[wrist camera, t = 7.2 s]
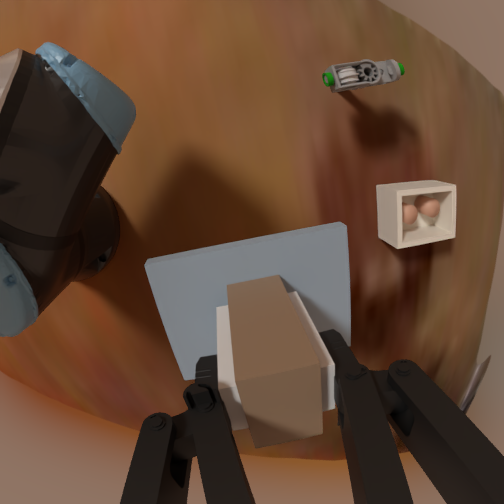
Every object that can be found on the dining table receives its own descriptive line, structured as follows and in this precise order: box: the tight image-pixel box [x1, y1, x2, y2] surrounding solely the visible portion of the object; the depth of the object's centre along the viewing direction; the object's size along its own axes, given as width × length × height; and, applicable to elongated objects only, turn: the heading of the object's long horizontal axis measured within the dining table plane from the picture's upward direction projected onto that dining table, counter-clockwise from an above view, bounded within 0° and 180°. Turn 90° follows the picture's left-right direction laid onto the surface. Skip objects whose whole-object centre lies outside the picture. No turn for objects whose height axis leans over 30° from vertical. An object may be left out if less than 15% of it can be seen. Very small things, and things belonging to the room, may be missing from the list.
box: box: [376, 180, 456, 249], centre depth 41 cm, size 11×8×6 cm
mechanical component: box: [322, 59, 404, 93], centre depth 33 cm, size 3×10×10 cm, turn 108°
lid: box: [144, 222, 351, 448], centre depth 15 cm, size 12×9×10 cm
